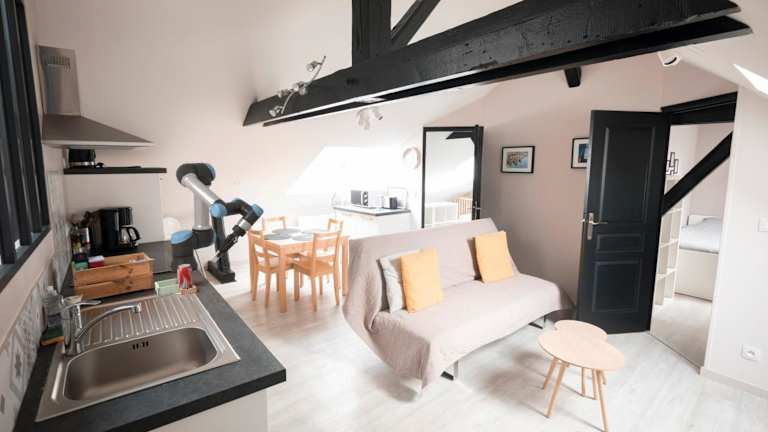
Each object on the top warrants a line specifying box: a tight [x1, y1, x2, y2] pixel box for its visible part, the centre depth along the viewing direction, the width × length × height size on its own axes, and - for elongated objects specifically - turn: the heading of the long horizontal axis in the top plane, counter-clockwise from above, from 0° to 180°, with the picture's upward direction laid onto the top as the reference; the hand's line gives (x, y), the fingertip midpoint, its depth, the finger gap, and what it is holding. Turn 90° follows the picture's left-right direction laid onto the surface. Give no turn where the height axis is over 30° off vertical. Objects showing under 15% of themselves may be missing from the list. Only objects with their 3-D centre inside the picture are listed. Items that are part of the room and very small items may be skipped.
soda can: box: [176, 264, 194, 289], centre depth 202 cm, size 7×7×12 cm
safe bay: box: [154, 278, 180, 297], centre depth 197 cm, size 10×12×4 cm
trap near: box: [179, 284, 198, 296], centre depth 195 cm, size 7×4×2 cm, turn 127°
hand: (212, 261), depth 209 cm, fingers closed
